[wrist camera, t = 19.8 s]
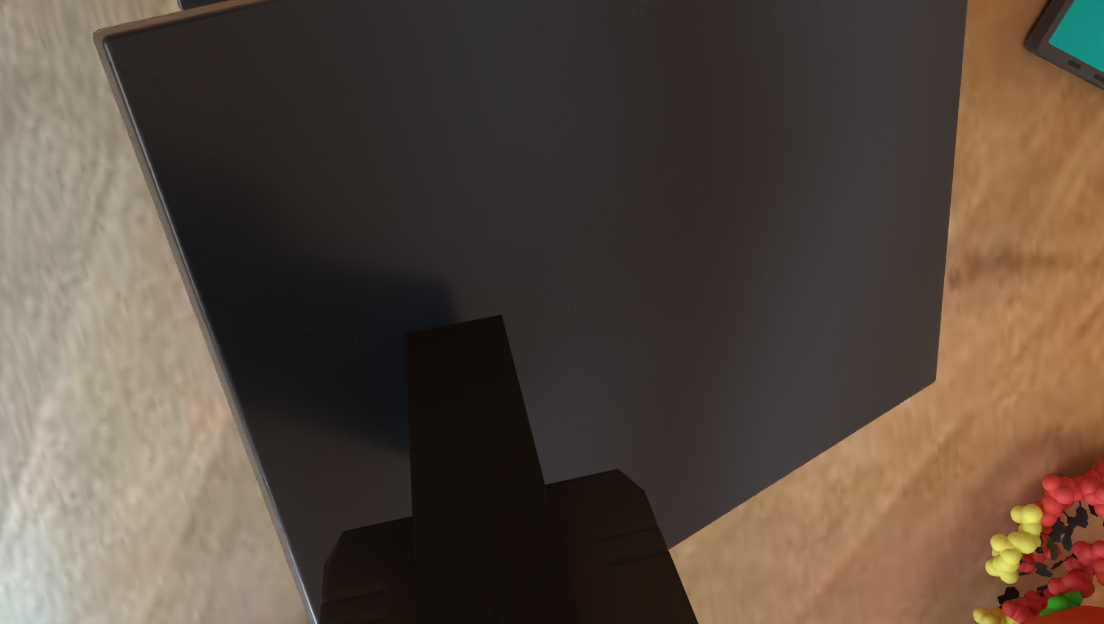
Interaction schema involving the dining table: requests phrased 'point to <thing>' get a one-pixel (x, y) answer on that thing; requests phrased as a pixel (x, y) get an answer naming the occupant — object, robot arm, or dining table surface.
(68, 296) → the dining table surface
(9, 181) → the dining table surface
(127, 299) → the dining table surface
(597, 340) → the lid
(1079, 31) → the smartphone
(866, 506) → the dining table surface
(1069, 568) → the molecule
